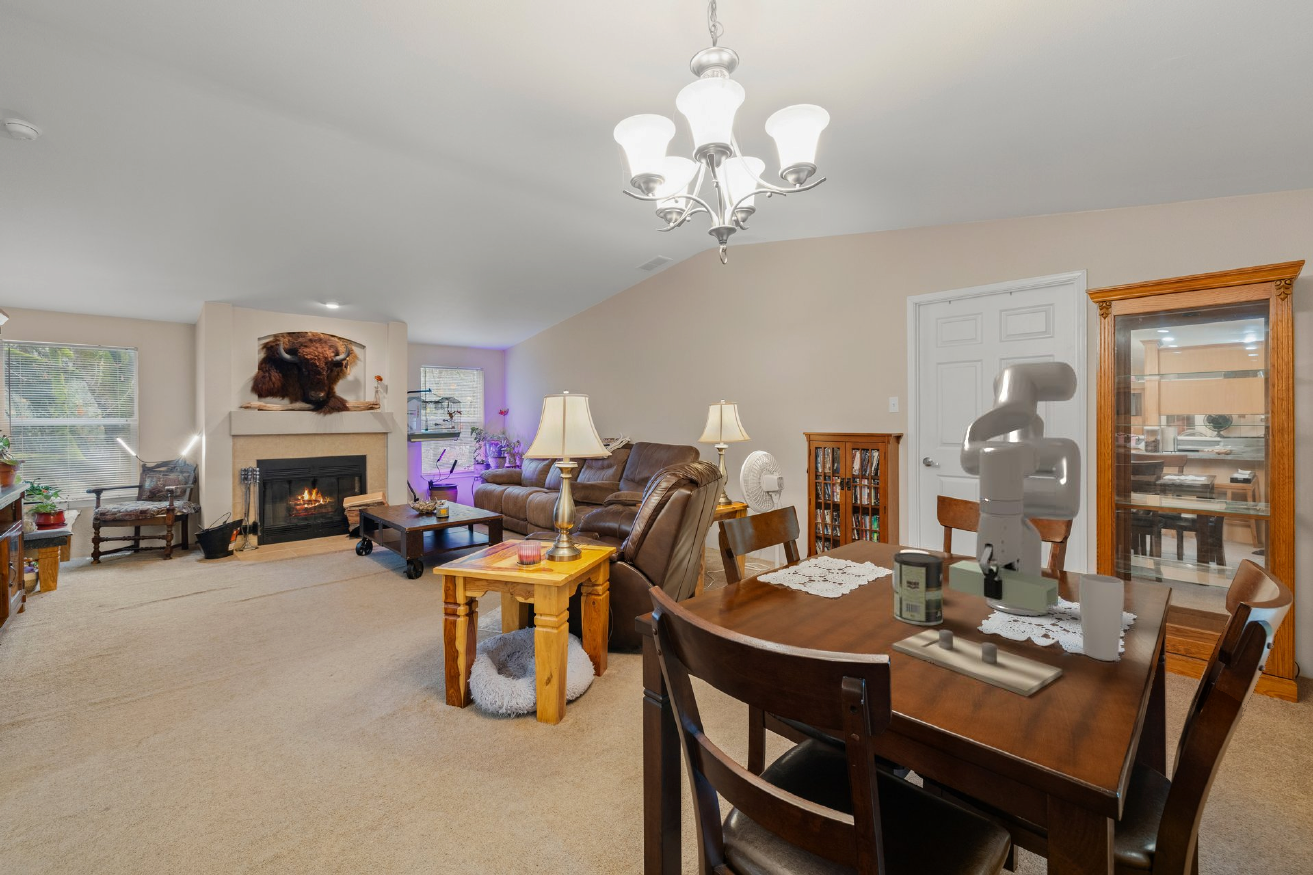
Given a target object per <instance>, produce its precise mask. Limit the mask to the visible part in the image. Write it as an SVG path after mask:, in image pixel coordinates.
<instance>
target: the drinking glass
mask: <svg viewBox="0 0 1313 875" xmlns="http://www.w3.org/2000/svg"><path fill="white" fill-rule="evenodd" d="M1078 600H1079V602H1078V603H1079V612H1080V623H1081V633H1082V636H1081V637H1082V651H1083V654H1085V655H1086V656H1088V657H1090V658H1092V659H1094V660H1098V661H1103V662H1104V661H1105V662H1113V660H1114V661H1116V660H1118V658H1119V646H1120V638H1121V630H1122V622H1123V613H1124V605H1125V581H1124V580H1123V579H1120V578H1118V577H1115V576H1111V575H1106V574H1105V575H1104V574H1095V573H1083V574H1080V575H1079V583H1078Z"/></svg>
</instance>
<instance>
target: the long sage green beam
mask: <svg viewBox="0 0 1313 875" xmlns="http://www.w3.org/2000/svg"><path fill="white" fill-rule="evenodd" d="M979 563H980V562H973V561H968V560H964V559H963V560H961V561H958V562H956V563H953V564H951V565H949V566H948V589H949V590H953V591H957V592H961V593H965V594H969V595H971V596H976V597H980V598H983V599H987V598H988V597H985V596H984V578H983V572H982V569H981V568H980V566H979ZM990 568H992V569H993V570H994V571H996V567H992V566H990ZM1000 580H1002V599H1001V600H996V599H992V598H988V599H991V600H995V601H999V602H1003V603H1007V604H1011V605H1015V606H1019V607H1023V608H1027V609H1031V610H1035V611H1039V612H1043V613H1046V612H1047V606H1049V605H1050V606H1052V607H1053V606H1054V607H1058V606H1059V580H1058V579H1055V578H1050V577H1046V576H1042V575H1041V576H1037V575H1032V574H1027V573H1022V572H1017V571H1012V570H1008V569H1003V568H1002V570H1001V575H1000Z"/></svg>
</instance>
